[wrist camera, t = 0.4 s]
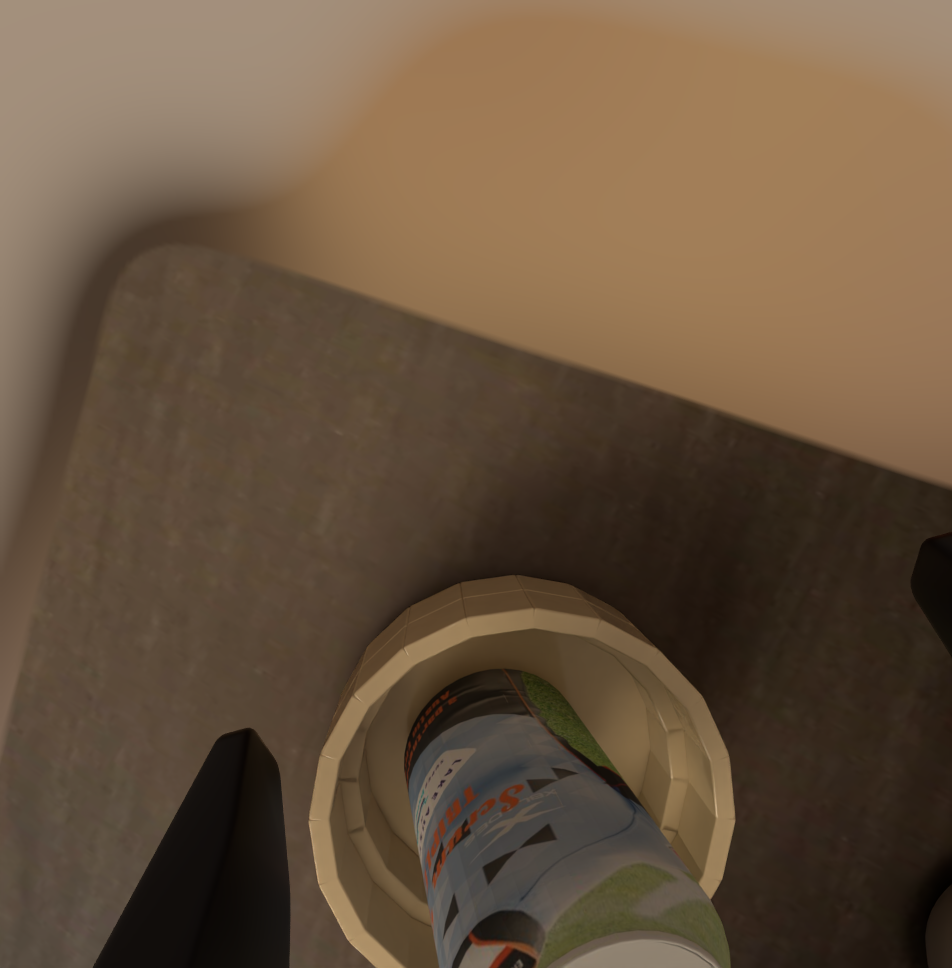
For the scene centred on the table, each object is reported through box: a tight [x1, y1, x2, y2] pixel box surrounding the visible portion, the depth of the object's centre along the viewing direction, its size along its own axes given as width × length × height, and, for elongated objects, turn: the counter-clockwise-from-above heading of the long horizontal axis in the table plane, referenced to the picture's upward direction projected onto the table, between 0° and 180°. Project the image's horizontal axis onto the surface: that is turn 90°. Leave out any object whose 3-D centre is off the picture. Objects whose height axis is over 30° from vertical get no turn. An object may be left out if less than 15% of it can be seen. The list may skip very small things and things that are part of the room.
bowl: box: [309, 575, 735, 968], centre depth 22 cm, size 12×12×5 cm
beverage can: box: [404, 668, 731, 968], centre depth 18 cm, size 6×7×12 cm
